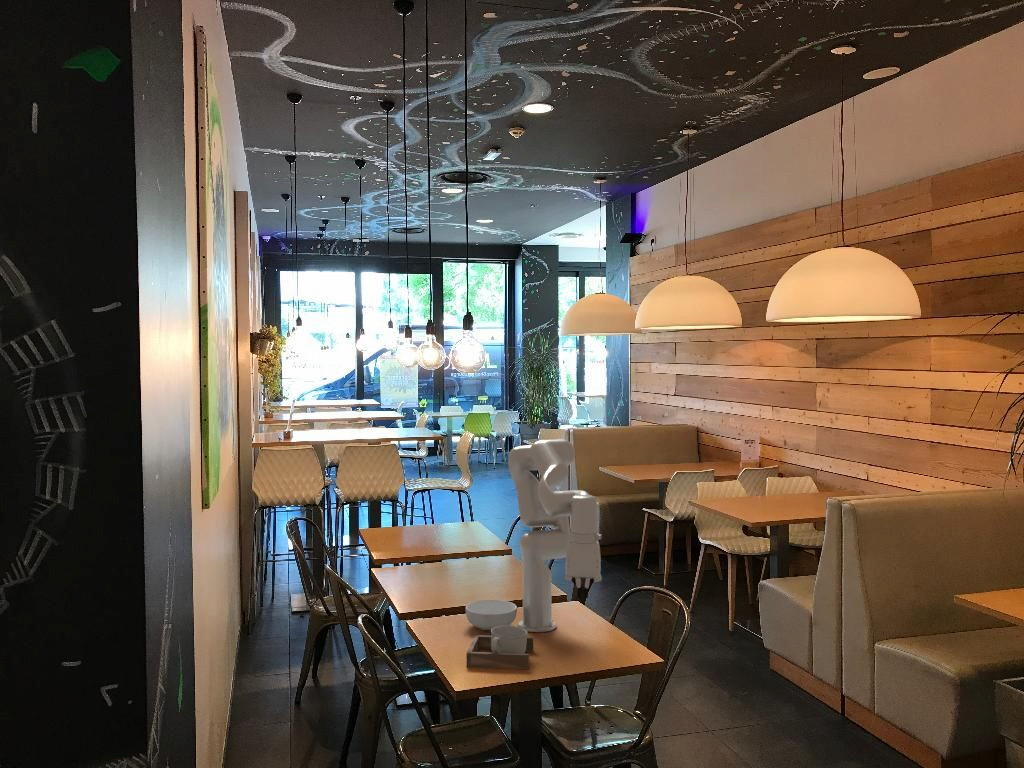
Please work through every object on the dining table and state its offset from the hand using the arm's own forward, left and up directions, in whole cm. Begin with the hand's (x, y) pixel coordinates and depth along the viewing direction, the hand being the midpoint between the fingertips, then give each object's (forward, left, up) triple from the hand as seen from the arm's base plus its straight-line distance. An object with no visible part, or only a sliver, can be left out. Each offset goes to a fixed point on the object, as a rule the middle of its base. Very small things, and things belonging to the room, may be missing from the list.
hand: (582, 600), depth 239 cm
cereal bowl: (-29, -31, -18) cm, 46 cm away
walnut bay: (+1, -23, -18) cm, 29 cm away
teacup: (0, -23, -18) cm, 29 cm away
